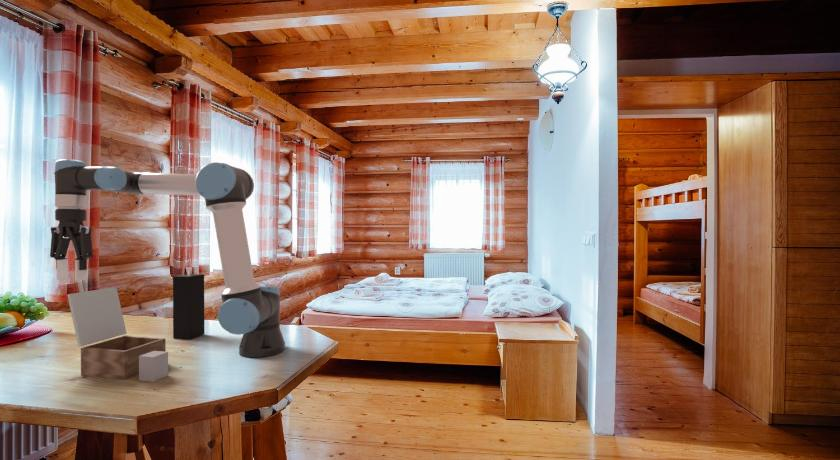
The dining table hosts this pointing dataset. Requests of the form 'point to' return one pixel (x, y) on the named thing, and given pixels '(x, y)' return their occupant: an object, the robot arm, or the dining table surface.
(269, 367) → the dining table surface
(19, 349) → the dining table surface
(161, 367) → the stone block
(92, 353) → the box
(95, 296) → the lid
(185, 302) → the tall black column
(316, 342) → the dining table surface
